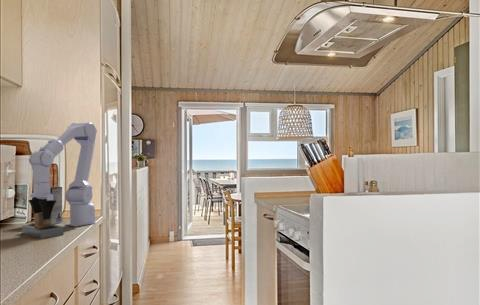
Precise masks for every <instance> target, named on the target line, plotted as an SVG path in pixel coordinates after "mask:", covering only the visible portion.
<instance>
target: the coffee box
mask: <svg viewBox="0 0 480 305" xmlns="http://www.w3.org/2000/svg"><path fill="white" fill-rule="evenodd" d="M50 193H51V194H52V195H53V200H56V203H55V205H54V207H53V209H52V213H51V217H50V219H49V224H53V225H57V224H61V222H62V223H63V187H62V186H51V185H50Z"/></svg>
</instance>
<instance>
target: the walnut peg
mask: <svg viewBox="0 0 480 305" xmlns="http://www.w3.org/2000/svg"><path fill="white" fill-rule="evenodd" d="M34 215H35V216H34ZM33 216H34V224H35V227H37V228H41V227H47V226H49V219H46V220H44V219H43V215H42V213H34V212H33Z"/></svg>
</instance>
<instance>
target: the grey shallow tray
mask: <svg viewBox="0 0 480 305" xmlns="http://www.w3.org/2000/svg"><path fill="white" fill-rule="evenodd" d="M64 230H65V229H64V226H62V225H57V224H49V226H47V227H41V228H37V227H35V223H29V224H22V225H21V233H22V234H23V235H27V236H30V237H34V238H36V239H40V240H42V239H48V238H55V237H58V236H59V237H60V236H64Z"/></svg>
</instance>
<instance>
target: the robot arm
mask: <svg viewBox="0 0 480 305" xmlns="http://www.w3.org/2000/svg"><path fill="white" fill-rule="evenodd" d="M97 131H98V130H97V128H96V126H95V124H94V123H93V122H80V123H79V122H78V123H76V122H73V123H71V124H70V125H68V126H67V129H66V130H65V131H64V132H63V133H62V134H60V135H59V137H57V139H55V138H54V139H48V141H47V143H46V144H45V145H44V146H41V147H40V148H39V150H35V151H33V152H32V153H31V154H30V155H29V158H28V163H29V164H30V166H31V170H32V184H33V185H32V189H33V190H32V191H33V192H32V193H31V194H29V197H30V198H31V199H28V203H29V204H30V206H31V209H32V211H33V217H35V215H34V213H42V215H43V219H44V220H46V219H50V217H51V213H52V209H53V207H54V205H55V203H56V200H53V195H52V194H51V193H50V186H51V165H52V164H53V163H54V161H55V158H56V157H57V156H58V155H59V154H60V153H61V152H62V151H64V146H65V145H66V144H68V143H69V142H70V141H72V140H75V141H76V143H77V144H79V145H80V151H79V156H78V161H77V166H76V171H75V176H74V180H73V181H71V183H70V184H69V185H68V188H67V190H66V192H65V195H64V196H65V200H66V202H68V205H69V220H70V222H68V223H67V222H66V226H70V227H71V226H72V227H80V226H86V225H88V226H89V225H93V224H97V222H96V219H95V218H96V209H95V208H96V207H95V205H94V204H93V202H91V201H92V199H93V186H92V185H91V184H90V183H89V177H90V172H91V167H92V163H93V157H94V150H95V144H96V143H95V142H96V137H97Z"/></svg>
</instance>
